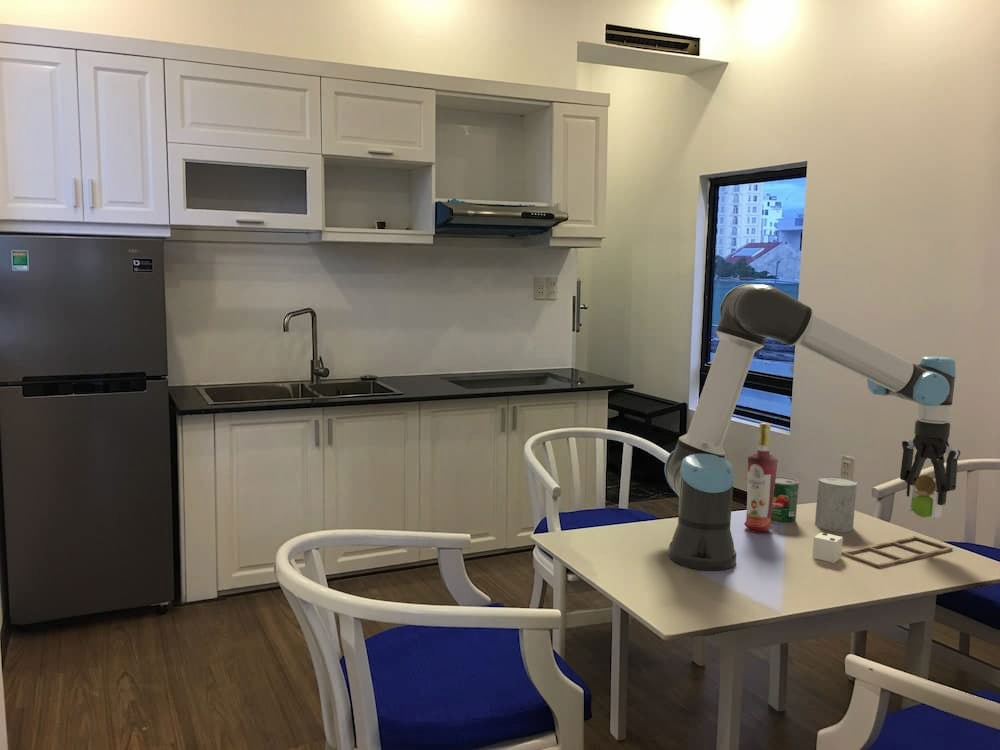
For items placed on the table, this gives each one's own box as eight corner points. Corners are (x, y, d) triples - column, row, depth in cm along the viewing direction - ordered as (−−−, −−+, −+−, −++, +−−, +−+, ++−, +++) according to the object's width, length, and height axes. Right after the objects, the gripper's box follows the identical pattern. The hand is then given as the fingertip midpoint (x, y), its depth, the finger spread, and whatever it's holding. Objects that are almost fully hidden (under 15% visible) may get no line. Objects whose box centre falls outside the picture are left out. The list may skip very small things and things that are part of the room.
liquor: (777, 530, 209) (785, 424, 206) (764, 536, 204) (772, 427, 200) (751, 524, 214) (758, 420, 211) (737, 529, 209) (745, 423, 205)
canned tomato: (763, 521, 217) (766, 481, 216) (767, 514, 224) (769, 475, 223) (794, 526, 214) (797, 485, 212) (797, 518, 221) (800, 479, 219)
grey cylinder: (853, 524, 217) (857, 479, 216) (853, 533, 208) (857, 487, 207) (815, 518, 221) (819, 474, 219) (813, 528, 212) (817, 482, 211)
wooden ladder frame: (878, 568, 183) (878, 565, 183) (840, 554, 192) (841, 552, 192) (952, 550, 197) (952, 548, 197) (914, 538, 206) (914, 536, 206)
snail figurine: (944, 520, 195) (948, 471, 194) (917, 519, 195) (921, 471, 194) (932, 514, 201) (936, 466, 199) (906, 513, 201) (910, 466, 200)
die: (834, 563, 186) (836, 541, 185) (812, 557, 189) (814, 536, 189) (841, 557, 190) (843, 536, 189) (819, 552, 193) (821, 531, 192)
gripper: (980, 426, 189) (970, 522, 192) (907, 413, 205) (899, 502, 208) (961, 428, 186) (951, 526, 188) (888, 415, 202) (880, 505, 204)
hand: (924, 513), depth 198 cm, fingers closed on snail figurine, 5 cm apart
